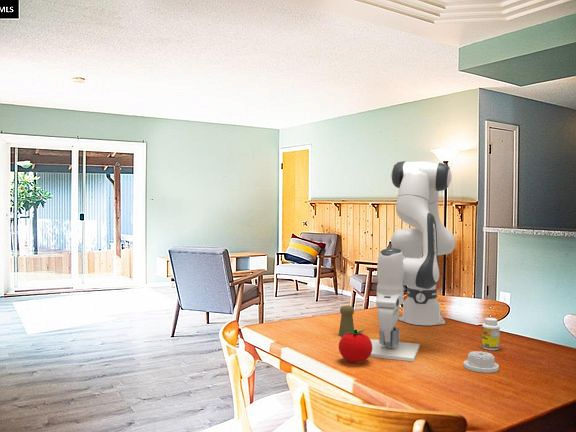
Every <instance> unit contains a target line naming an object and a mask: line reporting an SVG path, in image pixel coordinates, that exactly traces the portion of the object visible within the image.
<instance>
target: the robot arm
mask: <svg viewBox="0 0 576 432" xmlns="http://www.w3.org/2000/svg"><path fill="white" fill-rule="evenodd" d="M390 177H391V183H392V185H394V186H395V188H398V193H397V196H396V197H397V198H396V204H395V211H396V212H395V213H396V215H397V216H398V218H399V219H400V220H401V221H402V222H403V223H405V224H406V225H409V226H410V227H411V228H409V227H407V228H406V227H405V228H399V229H396V230H395V231H394V232H393V233H392V235H391V238H390V239H391V240H390V242H391V248H384V249H382V250H380V251H379V253H378V257H377V258H378V259H377V265H376V266H377V267H376V278H377V286H376V301H375V305H376V307H377V317H378V318H377V319H378V320H377V321H378V328H379V332H380V331H384V336H385V342H390V341H391V336H390V333H391V330H392V328H393V327H396V324H397V322H398V321H401V322H405V323H406V324H409V325H410V324H411V325H416V326H436V325H445V324H446V320H445V319H444V317H443V316H442V311H441V303H440V301H438V299H437V296H438V289H437V284H438V283H439V280H440V265H439V260H438V259H439V257H438V256H443V255H450V254H452V253H453V251H454V250H455V247H456V241H457V239H456V237H455V235H454V234H453V232H452V231H451V230H450V229H447V227H445V225H444V224H443V223H442V221H441V219H440V214H439V212H440V211H439V192H442V191H445V190H447V189H448V188H449V185H450V184H451V182H452V171H451V167H450V166H449V164H446V163H443V162H439V163H438V162H433V161H424V160H422V161H406V160H403V161H397V162H396V163H395V164H394V165H393V168H392V170H391V175H390ZM421 256H422V257H421ZM404 286H408V287H407V291H406V295H407V297H406V299H404V296H405V295H404V293H405V291H404ZM401 305H402V306H403V307H402V315H401V316H400V307H401Z"/></svg>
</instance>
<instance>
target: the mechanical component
mask: <svg viewBox="0 0 576 432" xmlns="http://www.w3.org/2000/svg"><path fill="white" fill-rule="evenodd" d="M463 367H464V368H465V369H466V370H469V371H472V372H477V373H485V374H490V373H497V372H498V371H499V367H500V366H499V364H498V363H496V362H495V355H493V353H490V352H487V351H469V352H468V353H467V359H465V360H464V361H463Z"/></svg>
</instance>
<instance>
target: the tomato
mask: <svg viewBox="0 0 576 432" xmlns="http://www.w3.org/2000/svg"><path fill="white" fill-rule="evenodd" d="M351 331H352V332H349V333H347V334H345V335H344V336H343V337H341V338H340V339H339V343H338V351H339V353H340V356H341V357H343V359H344V360H346V361H348V362H350V363H354V364H356V363H357V364H358V363H362V362H365V361H366V360H368V359H369V358H370V357H369V356H370V355H371V352H372V342H371V340H370V339H371V338H370V337H369V336H368V335H366V334H365V333H364V331H365V330H364V329H362V330H360V331H358V329H354V330H353V329H351ZM346 332H347V331H346Z"/></svg>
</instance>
